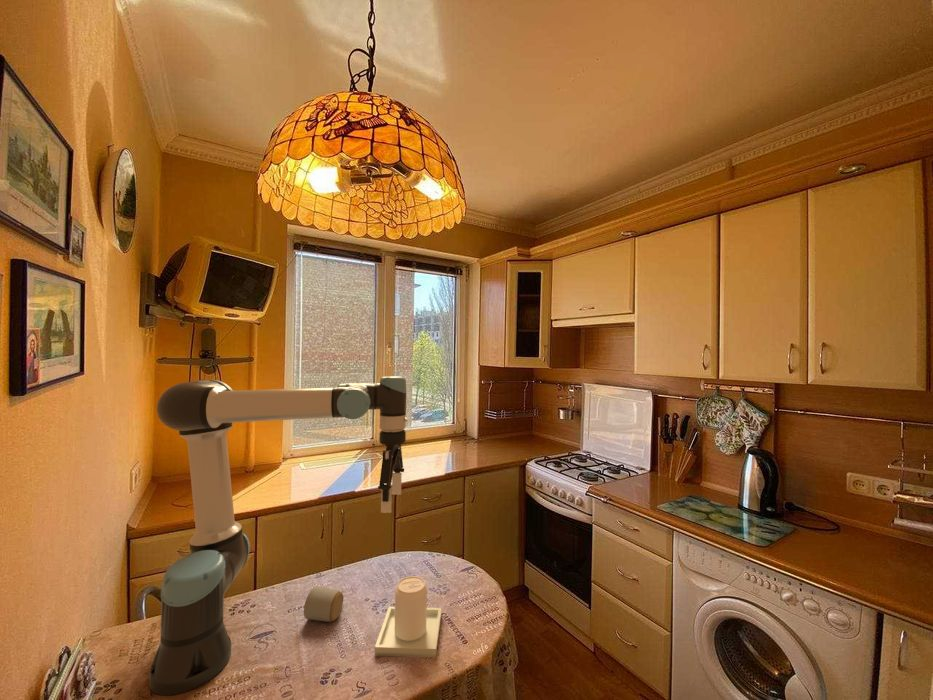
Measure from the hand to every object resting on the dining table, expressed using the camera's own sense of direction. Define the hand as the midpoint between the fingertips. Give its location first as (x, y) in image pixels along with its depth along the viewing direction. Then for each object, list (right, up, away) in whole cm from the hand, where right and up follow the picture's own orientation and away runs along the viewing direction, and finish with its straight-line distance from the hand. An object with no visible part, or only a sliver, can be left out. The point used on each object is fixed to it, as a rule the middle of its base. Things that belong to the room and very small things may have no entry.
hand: (391, 502), depth 109 cm
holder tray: (+7, -29, -13) cm, 32 cm away
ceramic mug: (-17, -29, -6) cm, 34 cm away
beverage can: (+7, -28, -13) cm, 32 cm away
